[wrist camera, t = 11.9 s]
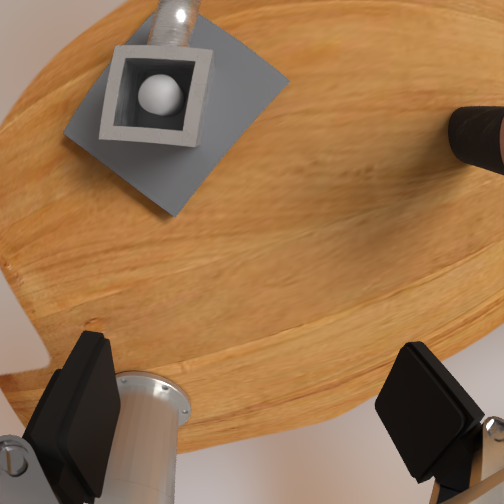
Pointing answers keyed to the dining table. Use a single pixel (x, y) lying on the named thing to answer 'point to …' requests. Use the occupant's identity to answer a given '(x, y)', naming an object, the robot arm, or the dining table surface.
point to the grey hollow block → (164, 62)
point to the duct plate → (181, 117)
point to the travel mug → (479, 136)
